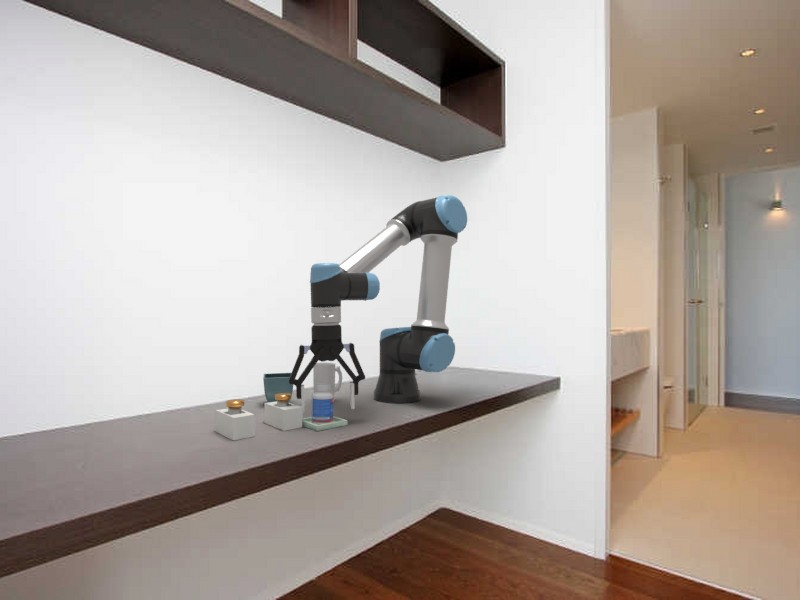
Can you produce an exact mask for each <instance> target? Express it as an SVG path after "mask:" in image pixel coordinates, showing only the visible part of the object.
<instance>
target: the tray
mask: <svg viewBox="0 0 800 600" xmlns="http://www.w3.org/2000/svg"><path fill="white" fill-rule="evenodd" d="M344 426H348V420H347V419H344V418H341V417H339V416H334V415H333V422H332V423H326V424H321V425H317V424H314V423H312V416H307V417H304V418H303V417H302V427H305V428H307V429H309V430H313V431H316V432H321V431H325V430H331V429H335V428H340V427H344Z"/></svg>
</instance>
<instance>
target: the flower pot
mask: <svg viewBox="0 0 800 600" xmlns="http://www.w3.org/2000/svg"><path fill="white" fill-rule="evenodd" d="M291 373H292V372H280V373H279V372H278V373H277V372H276V373H274V372H273V373H263V378H262V379H263V389H264V390H263V391H264V396H265V397H264V398H265V400H266V403H269V402H276V401H277V400H276V399H275V394H279V393H290V394H292V395H293V391H294V385H293V384H290V383H289V378H290V376H291ZM289 402H291V399H289Z"/></svg>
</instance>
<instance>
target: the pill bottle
mask: <svg viewBox="0 0 800 600" xmlns="http://www.w3.org/2000/svg"><path fill="white" fill-rule="evenodd" d="M315 390H316V392H315V393H314V392H312V395H311V417H312V423H314V424H317V425H321V424H326V423H332V422H333V416H334V403H333V393H331V392H330V390H331V384H329V383H318V384H315Z"/></svg>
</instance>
